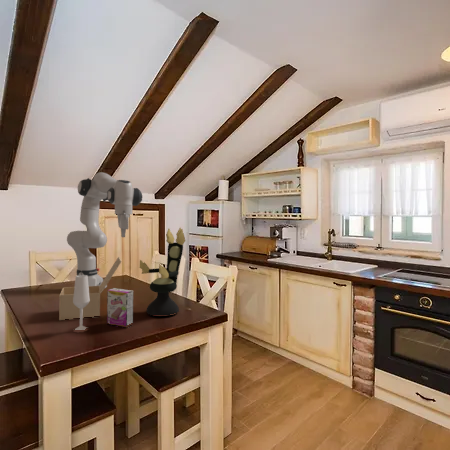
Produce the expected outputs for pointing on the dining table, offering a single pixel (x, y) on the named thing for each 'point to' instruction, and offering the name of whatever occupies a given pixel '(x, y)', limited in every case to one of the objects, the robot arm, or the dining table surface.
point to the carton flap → (110, 274)
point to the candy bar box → (120, 306)
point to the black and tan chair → (166, 277)
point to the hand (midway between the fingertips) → (123, 237)
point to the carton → (71, 311)
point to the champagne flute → (81, 296)
